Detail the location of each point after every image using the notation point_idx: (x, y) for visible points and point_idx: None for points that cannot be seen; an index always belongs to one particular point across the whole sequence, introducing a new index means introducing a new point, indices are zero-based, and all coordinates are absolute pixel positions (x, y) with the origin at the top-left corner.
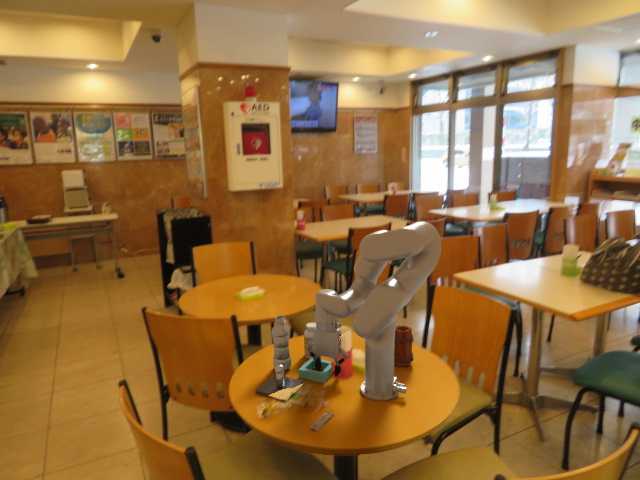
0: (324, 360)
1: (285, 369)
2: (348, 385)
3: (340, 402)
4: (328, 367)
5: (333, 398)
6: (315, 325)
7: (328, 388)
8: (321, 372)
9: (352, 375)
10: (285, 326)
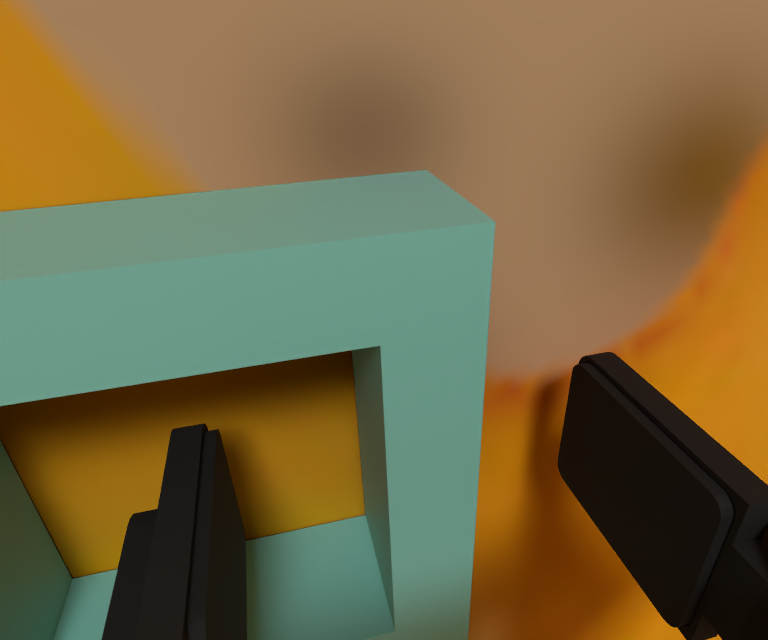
0: (137, 288)
1: None
2: (707, 428)
3: (673, 631)
4: (430, 481)
5: (609, 633)
6: None
7: (516, 575)
8: (397, 637)
9: (738, 193)
10: None
